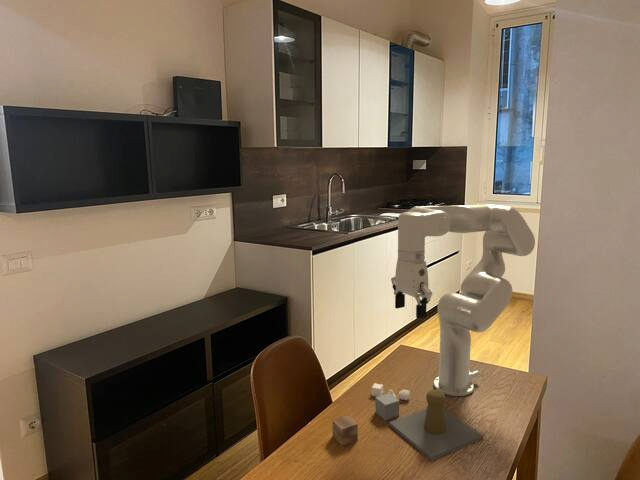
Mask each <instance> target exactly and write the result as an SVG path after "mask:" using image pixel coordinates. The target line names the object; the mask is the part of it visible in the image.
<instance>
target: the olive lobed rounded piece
mask: <svg viewBox="0 0 640 480" xmlns="http://www.w3.org/2000/svg"><path fill="white" fill-rule="evenodd" d="M425 397H426V398H425V399H426V402H427V407H426V409H427V412H426V418H425V424H424V429H425V431H426V432H428V433H430V434H434V435H441V434H443V433H445V432H446V423H445V414H444V410H445V406H444V405H445V404H446V394H444V393H443V392H442V391H440V390H437V389H431V390H429V391H428V392H427V393H426V396H425Z"/></svg>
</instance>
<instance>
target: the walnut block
mask: <svg viewBox="0 0 640 480" xmlns="http://www.w3.org/2000/svg"><path fill="white" fill-rule="evenodd" d="M358 427H359V426H358V423H357V421H355V420H354V418H352V417H351V416H349V415H347V414H346V415H344V416H340V417H338V418H336V419H332V437H333V438H334V439H335V440H336V441H337V442H338V444H339V445H340V446H341V447H343V446H345V445H349V444H351V443H355V442H356V441H358V440H359V439H358V438H359V437H358V436H359V434H358V433H359V431H358V429H359V428H358Z"/></svg>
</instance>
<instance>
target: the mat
mask: <svg viewBox="0 0 640 480" xmlns="http://www.w3.org/2000/svg"><path fill="white" fill-rule="evenodd" d="M426 412H427V408H425V409H422V410H420V411H415V412H414V413H410V414H408V415H405V416H402V417H399V418H397V419H394V420H391V421H389V422H388V426H389V427H391V429H393V431H396V432H397V434H399V436H401V437H402V438H404V439H405V440H406V441H407V442H408V443H409V444H410V445H412V446H413V447H414V448H415V449H417V451H419V452H420V453H421V454H422V455H423V456H425V457H426V458H427V459H429V460H430V461H434V460H436V459H438V458H441V457H444V456H446V455H449V454H450V453H453V452H455V451H457V450H460V449H462V448H463V449H464V448H465V447H468V446H470V445H472V444H475V443H477V442H479V441H481V440H484V436H483V435H482V434H481V433H479V431H477V430H476V429H474V428H472V427H471V426H469V425H468V424H466V422H463V421H462V420H460V419H459V418H457V416H455V415H453V414H452V413H450V412H449V411H447V410H446V409H444V414H445V423H446V432H445V433H443V434H441V435H434V434H430V433H428V432H426V431H425V429H424V424H425V418H426Z"/></svg>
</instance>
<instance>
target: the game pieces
mask: <svg viewBox="0 0 640 480" xmlns="http://www.w3.org/2000/svg"><path fill="white" fill-rule="evenodd" d="M388 393H390V394H391V395H393V396H394V397H395V398H396V394H395V393H394V391H393V390H392V388H389V390H388ZM388 393H387V394H388ZM381 395H384V385H383V383H380V384H379V383H376V382H374V383H373V384H372V386H371V396H372V397H378V396H381ZM398 395H399V398H400V400H402V401H403V400H404V401H408V399H409V400H410V397H411V391H410V390H407V389H402V390H400V389H399V392H398Z"/></svg>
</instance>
